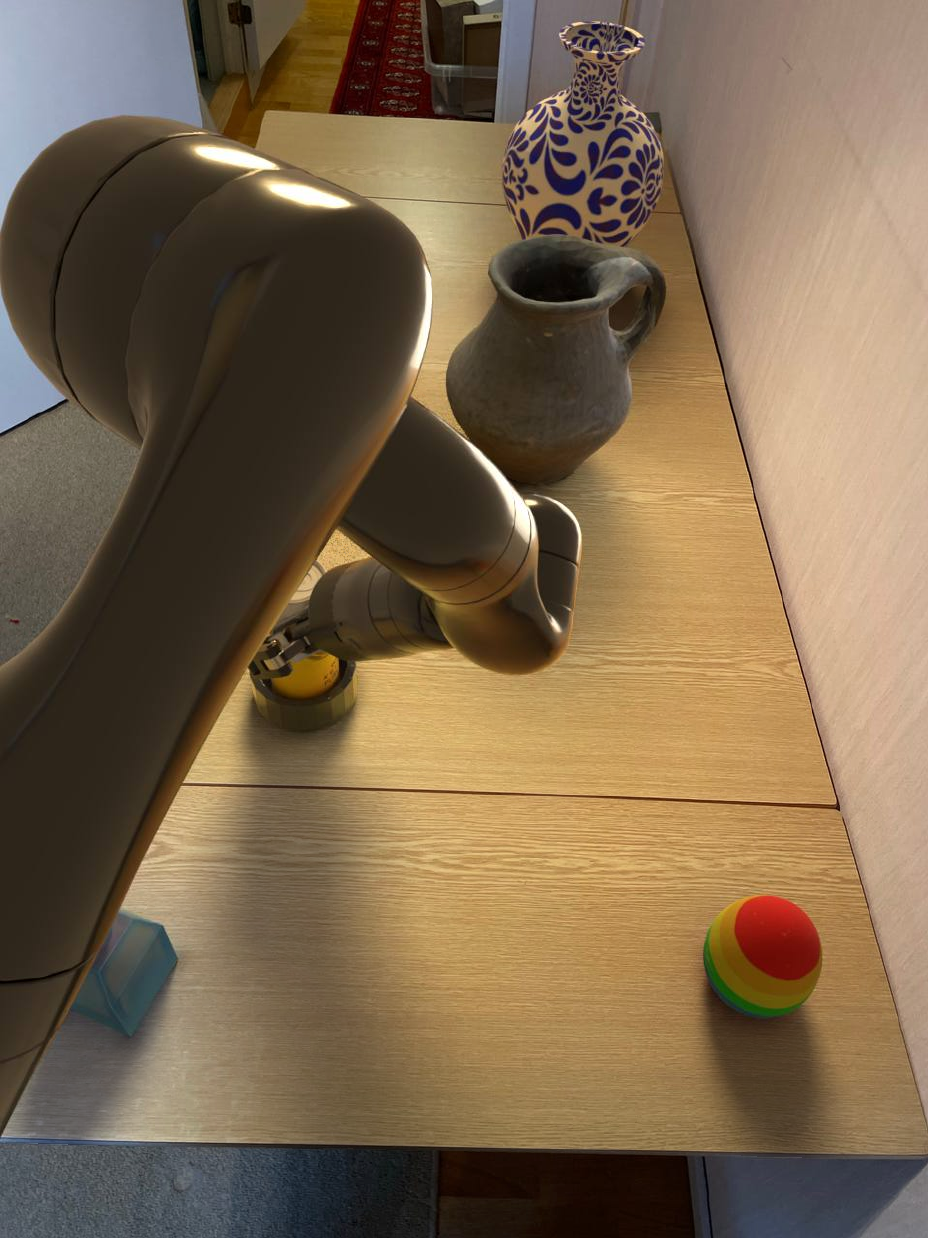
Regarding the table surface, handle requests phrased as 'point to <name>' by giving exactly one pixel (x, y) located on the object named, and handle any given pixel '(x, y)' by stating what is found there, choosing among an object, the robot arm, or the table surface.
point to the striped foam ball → (763, 956)
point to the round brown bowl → (308, 703)
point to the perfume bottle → (126, 973)
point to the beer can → (315, 670)
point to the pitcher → (552, 354)
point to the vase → (586, 149)
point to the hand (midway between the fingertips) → (288, 624)
